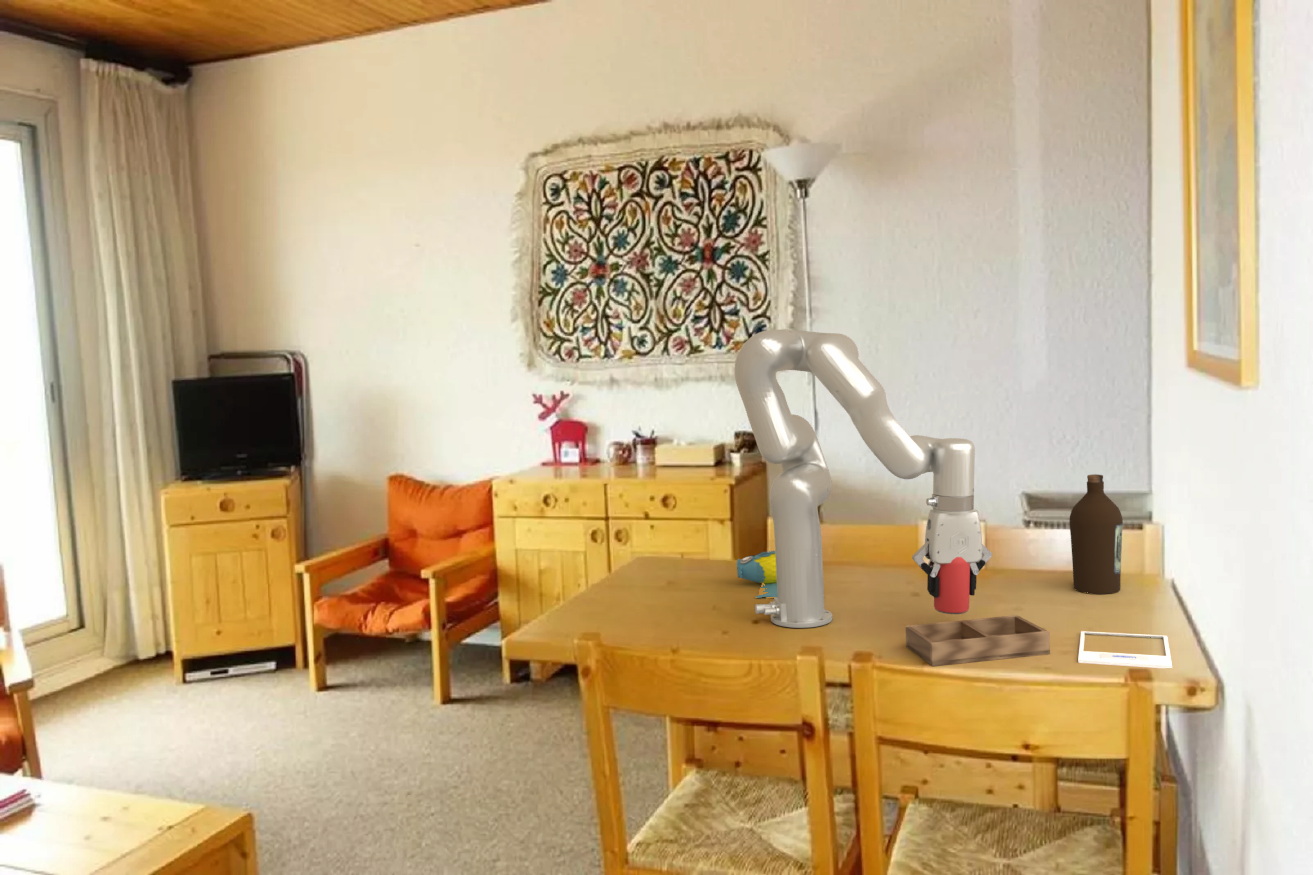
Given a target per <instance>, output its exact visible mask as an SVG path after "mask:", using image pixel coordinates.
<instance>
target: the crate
mask: <svg viewBox="0 0 1313 875" xmlns="http://www.w3.org/2000/svg"><path fill="white" fill-rule="evenodd" d="M1050 633H1051V632H1050V631H1048V630H1046V629H1044V628H1043V627H1041V626H1039V625H1037V624H1035V623H1033V622H1031V621H1029V620H1027V619H1025V618H1023V617H1022V616H1019V615H1017V614H1012V615H1004V616H1003V615H1002V616H993V617H983V618H982V617H981V618H974V619H973V618H972V619H963V620H956V621H955V620H953V621H952V620H951V621H943V622H932V623H923V624H913V625H912V624H911V625H905V646H906V648H907V649H908V650H910V651H911V652H913V654H915V655H916V656H918V657H919V658H921V659H922V660H923V661H925V662H926V663H928V664H929V665H930V666H931V667H938V666H940V667H941V666H946V665H950V666H951V665H958V664H967V663H978V662H984V661H985V662H987V661H994V660H1005V659H1015V658H1016V659H1017V658H1025V657H1035V656H1043V655H1045V656H1046V655H1050V654H1051V642H1050V641H1051V640H1050V637H1051V636H1050Z"/></svg>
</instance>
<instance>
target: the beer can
mask: <svg viewBox="0 0 1313 875" xmlns="http://www.w3.org/2000/svg"><path fill="white" fill-rule="evenodd" d="M958 554H959V553H958ZM937 577H938V578H939V597H938V598H935V597H933V607H934V610H936V611H937V612H938V613H942V614H945V615H962V614H963V615H964V614H966V613H967V612H968V611H969V609H970V595H969V592H970V563H967V562H966V561H965V560H964V559H963V558H962V557H956V558H955V559H953V560H952V561H951V563H949V564H941V565H940V569H939V571H938V573H937Z"/></svg>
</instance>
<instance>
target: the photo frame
mask: <svg viewBox="0 0 1313 875" xmlns="http://www.w3.org/2000/svg"><path fill="white" fill-rule="evenodd" d="M1086 635H1095V636H1096V635H1098V636H1115V637H1117V636H1118V637H1134V638H1150V637H1151V639H1163V645H1164V652H1165V655H1158V654H1157V655H1155V654H1154V655H1153V654H1139V653H1137V654H1136V653H1122V652H1121V653H1120V652H1105V651H1089V650H1088V651H1087V650H1084V648H1085V647H1084V646H1085V636H1086ZM1169 644H1170V643H1169V638H1168V635H1160V634H1159V635H1158V634H1142V633H1139V634H1138V633H1126V632H1125V633H1124V632H1107V631H1106V632H1103V631H1102V632H1101V631H1086V630H1085V631H1084V630H1081V631H1080V638H1079V647H1078V648H1079V649H1078V657H1077V658H1078V660H1077V662H1078V663H1080V664H1091V665H1092V664H1093V665H1107V666H1108V665H1110V666H1123V667H1139V668H1140V667H1141V668H1154V669H1166V668H1172V669H1173V664H1172V657H1171V656H1172V655H1171V650H1170V645H1169Z"/></svg>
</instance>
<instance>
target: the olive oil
mask: <svg viewBox="0 0 1313 875" xmlns="http://www.w3.org/2000/svg"><path fill="white" fill-rule="evenodd" d="M1104 486H1105V484H1104V475H1102V474H1096V473H1095V474H1088V475H1087V481H1086V491H1087V492H1086V493H1085V494H1084V496H1082V498H1081V499H1079V500H1078V502H1076V504H1075V505H1074V506H1073V507H1072V509H1071V511H1070V514H1069V531H1070V532H1069V534H1070V546H1071V548H1070V549H1071V559H1072V560H1071V561H1072V580H1073V583H1072V584H1073V589H1074V590H1075V589H1076V590H1075V591H1077V590H1078V591H1077V592H1079V591H1080V592H1079V593H1083V592H1086V593H1085V594H1089V593H1093V594H1092V595H1108V594H1110V595H1111V594H1115V593H1118V592H1120V591H1121V580H1122V579H1121V577H1122V576H1121V574H1122V573H1121V570H1122V548H1123V547H1122V544H1123V528H1124V527H1123V524H1124V523H1123V515H1122V512H1121V509H1119V507H1118V506H1117V504H1115V502H1113V501H1112V500H1111V498H1109V497H1108V496H1107V494H1105V492H1104V490H1105V487H1104ZM1087 592H1088V593H1087Z"/></svg>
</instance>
